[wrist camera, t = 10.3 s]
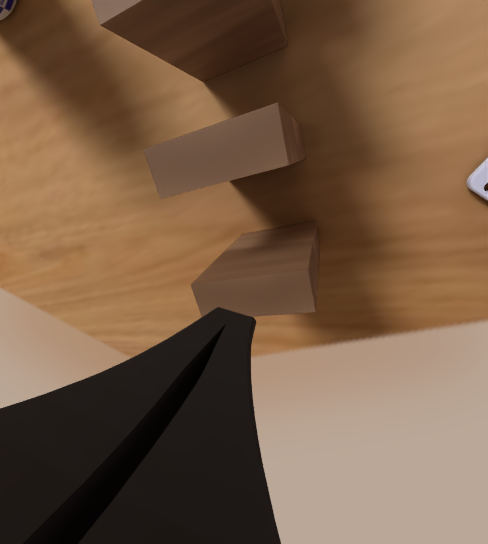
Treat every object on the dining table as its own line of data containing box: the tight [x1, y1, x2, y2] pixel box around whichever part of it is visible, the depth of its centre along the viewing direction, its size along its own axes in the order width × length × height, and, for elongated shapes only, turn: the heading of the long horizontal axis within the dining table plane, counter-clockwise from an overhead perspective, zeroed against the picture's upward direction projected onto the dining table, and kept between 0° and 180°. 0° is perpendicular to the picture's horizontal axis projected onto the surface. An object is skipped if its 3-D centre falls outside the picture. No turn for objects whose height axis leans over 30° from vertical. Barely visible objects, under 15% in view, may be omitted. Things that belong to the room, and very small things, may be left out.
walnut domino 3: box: [191, 221, 320, 317], centre depth 15 cm, size 2×5×8 cm, turn 104°
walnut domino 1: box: [91, 0, 288, 82], centre depth 11 cm, size 2×5×8 cm, turn 104°
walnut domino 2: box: [143, 102, 306, 199], centre depth 13 cm, size 2×5×8 cm, turn 104°
